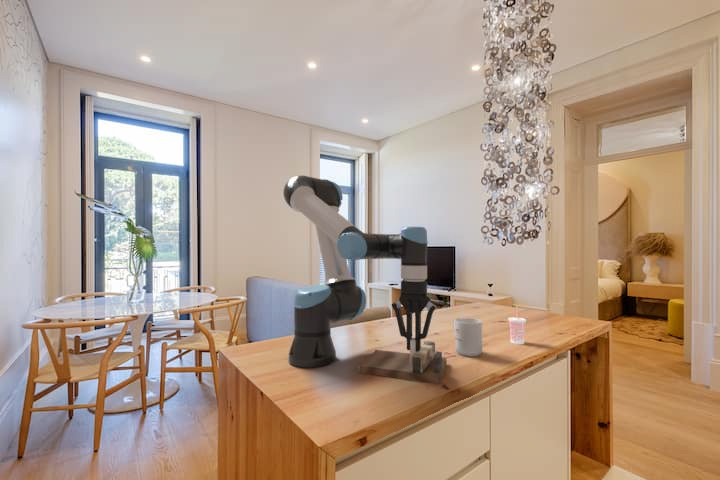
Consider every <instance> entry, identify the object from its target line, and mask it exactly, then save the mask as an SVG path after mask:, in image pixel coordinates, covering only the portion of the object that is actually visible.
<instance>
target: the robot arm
mask: <svg viewBox="0 0 720 480" xmlns="http://www.w3.org/2000/svg"><path fill="white" fill-rule="evenodd" d="M283 197H284V201H285V202H286V204H287V205H288V206H289V207H290V208H291V209H292V210H293V211H295V212H298V213H301V214H302V215H303V216H305V217H306V218H307V219H308V220H309V221H311V223H312V224H314V226H315V231H316V236H317V239H318V244H319V249H320V254H321V259H322V264H323V270H324V275H325V279H326V281H325V282H324V284H317V285H309V286H305V287H302V288H299V289H298V290H297V291H296V292H295V294H294V302H293V306H294V307H293V308H294V316H293V317H294V318H293V319H294V320H293V322H294V327H293V329H294V330H293V331H294V333H293V334H294V336H293V339H292V341H291V342H292V343H291V346H290V349H289V350H288V351H289V352H288V363H289V364H290V365H292V366H295V367H297V368H298V367H299V368H311V369H312V368H320V367H326V366H329V365H331V364H333V363H334V362H335V361H336V359H337V351H336V349H335V344H334V342H333V338H332V336H331V325H332V324H336V323H340V322H345V321H351V320H353V319H357V318H359V317H360V316H361V315H362V314H363V313H364V310H365V309H366V306H367V296H366V292H365V290H364V289H363V288H362V287H360V286H359V285H357V282H356V278H354V277H353V276H351V274H350V269H349V266H348V265H349V264H348V261H347V260H352V261H359V260H372V259H373V260H377V259H378V260H380V259H381V260H384V259H389V260H390V259H392V260H393V259H394V260H398V259H399V260H400V278H401V279H402V280H401V282H400V296H399V298H398V300H397V301H395V302H393V303H392V304H391V307H392V309H393V310H394V312H395V313H394V314H395V317H396V321H397V325H398V330H399V335H400V336H401V337H404V338H405V339H406V350H407V351H409V353H410V363H411V356H412V355H413V354H414V353H415V352H416V351H420V349H421V346H422V345H421V344H422V343H421V342H422V341H421V340H424V339H426V338H427V336H428V333H429V330H430V325H431V321H432V317H433V313H434V312H435V310H436V309H437V305H436V304H433V303H431V301H430V300H429V297H428V282H427V279H428V244H429V243H428V232H427V229H426V227H425V226H402V228H401V230H400V233H399V234H386V233H385V234H383V233H366V232H363V231H362V230H361V229H359V228H358V227H356V226H355V224H353V223H351V222H350V221H349V220H348V219H346V218H345V217H344V216H343V215H341V214H340V213H339V212H340V207H341V206H342V204H343V203H342V201H343V192H342V189H341V187H340V186H339V185H338V184H337V183H336V182H334V181H331V180H330V179H329V180H328V179H325V178H323V179H322V178H317V177H312V176H308V175H297V176H293V177H292V178H291V177H290V179H289V180H288V181H287V182H285V185H284V187H283ZM426 306H427V307H426ZM402 307H403V308H404V311H405V315H406V325H405V322H404V321H405V320H404V317H403V313H402ZM425 308H426V310H427V313H426V317H425V320H424V321H425V322H424V326H423V329H422V312H423V310H425ZM413 313H414V316H415V318H414V319H415V320H414V321H415V322H414V323H415V325H414V327H415V330H414V331H415V332H414V334H415V335H414V336H415V337H413Z"/></svg>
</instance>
